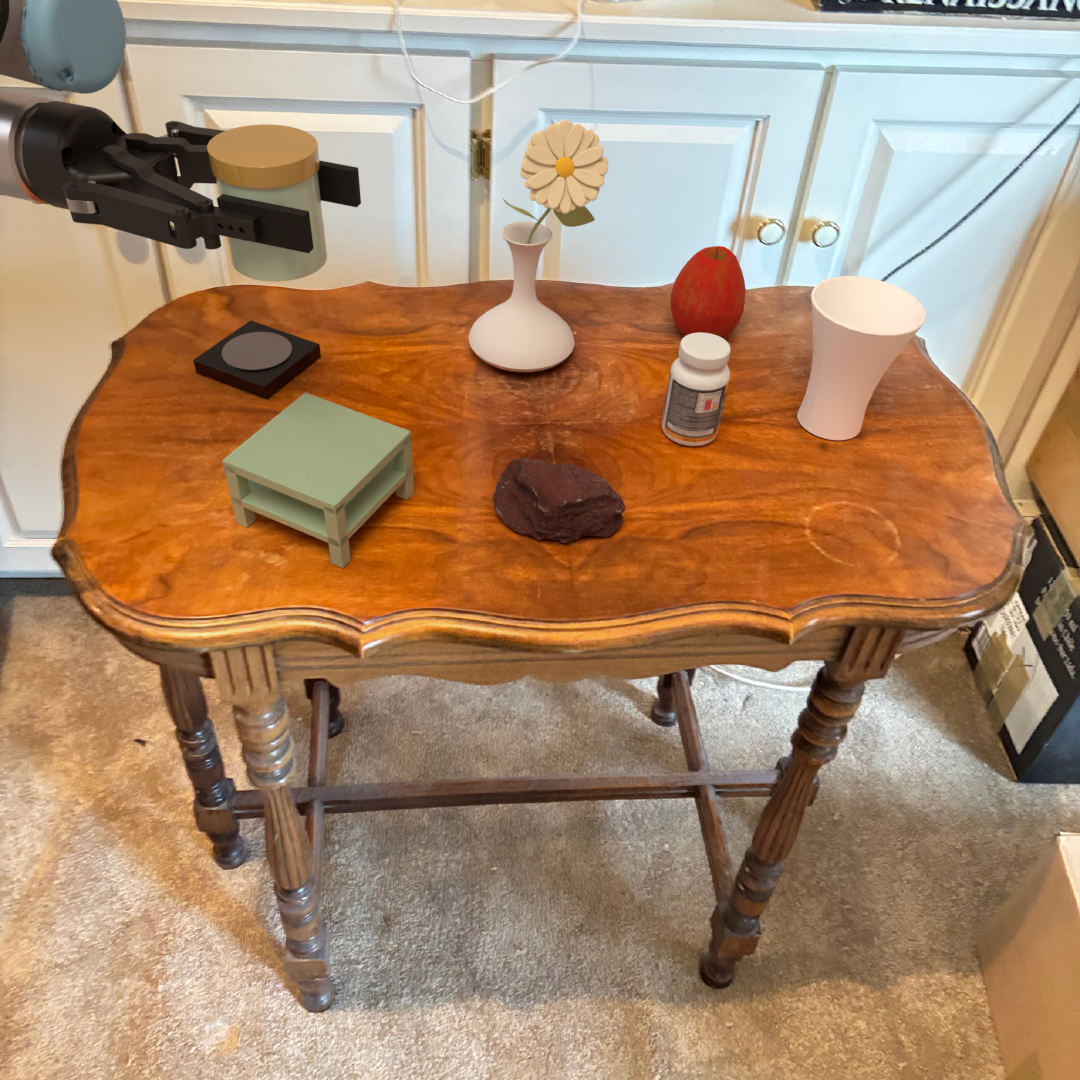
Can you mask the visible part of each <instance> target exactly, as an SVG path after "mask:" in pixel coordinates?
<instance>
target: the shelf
mask: <svg viewBox="0 0 1080 1080" xmlns="http://www.w3.org/2000/svg"><path fill="white" fill-rule="evenodd" d="M412 441H413V440H412V431H411V430H409V429H406V428H404V427H400V426H398V425H395V424H393V423H390V422H387V421H384V420H381V419H379V418H376V417H374V416H371V415H368V414H366V413H363V412H360V411H357V410H355V409H352V408H349V407H347V406H344V405H342V404H339V403H335V402H332V401H330V400H328V399H326V398H325V399H324V398H322V397H320V396H316V395H314V394H311V393H308V392H303V393H302V394H301V395H300V396H298V398H297V399H295V400H293V402H291V403H290V404H289V405H288V406H286V407H285V408H284V409H283V410H282V411H280V412H279V413H278V414H277V415H275V416H274V417H273V418H272V419H270V420H269V421H268V422H266V424H264V425H263V426H262V427H261V428H259V429H258V430H257V431H256V432H255V433H253V434H252V435H251V436H249V437H248V439H246V440H245V441H244V442H242V443H241V444H240V445H238V446H237V447H236V448H235V449H234V450H233V451H232V452H230V453H228V455H226V456H225V457H224V458H223V459H222V460H221V462H222V468H223V472H224V475H225V480H226V483H227V488H228V492H229V498H230V501H231V505H232V509H233V514H234V518H235V523H236V524H237V525H240V526H242V527H244V528H247V529H248V528H250V526H251V525H252V524H253V523H255V522H256V521H257V516H256V514H259V515H261V516H263V517H266V518H267V519H271V520H273V521H275V522H277V523H280V524H283V525H284V526H287V527H289V528H291V529H294V530H297V531H299V532H301V533H303V534H305V535H308V536H311V537H313V538H316V539H318V540H320V541H323V542H325V543H327V544H328V551H329V556H330V563H331V564H332V565H334V566H336V567H338V568H341V569H344V568H345V567H346V566H347V565H348V564H349V563H350V561H351V560H352V558H351V550H350V542H349V539H350V538H351V537H352V536H353V535H354V534H355V533H356V532H357V531H358V530H359V529H360V528H361V527H362V526H363V525H364V524H365V523H366V522H367V521H368V520H369V519H370V518H371V517H372V516H373V515H374V514H375V513H376V511H378V509H379V508H380V507H381V506H382V505H384V503H385V502H386V501H387V500H388V499H389V498H390V497H391V495H393V494H394V493H395V496H396V497H398V498H401V499H403V500H406V501H408V500H409V499H410V498H411V497H412V496H413V495H414V493H415V481H414V467H413V466H414V464H413V463H414V460H413V445H412V444H413V442H412Z"/></svg>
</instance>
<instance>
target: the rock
mask: <svg viewBox="0 0 1080 1080" xmlns="http://www.w3.org/2000/svg"><path fill="white" fill-rule="evenodd" d="M492 501H493V502H492V503H493V505H494V510H495V512H496V514H497V516H498V517H499V519H500V520H502V522H503V523H504V525H506V526H507V527H509V528H510V529H511V530H513V531H514V532H517V533H518V534H520V535H523V536H529V537H533V538H534V539H536V540H539V541H545V540H551V541H559V542H561V543H564V544H565V543H566V544H570V543H572V542H573V541H576V540H579V539H580V538H582V537H587V536H589V537H590V536H591V537H600V538H609V537H610V536H612V535H613V534H614V533H615V532H617V531H618V530H619V529H620V527H622V525H623V524H624V516H623V513H625V511H626V504H625V503H624V500H623V498H622V496H621V495H620V494H619V493H618V492H616V491H615V490H614V489H613V488H612V486H611V485H610V483H609V481H608V480H606V479H605V478H603V477H601V476H600V475H598V474H595V473H593V472H591V470H589V469H586V468H582V467H580V466H579V467H578V466H577V465H574V464H569V463H566V462H558V463H555V464H553V463H549V462H546V461H544V460H540V459H537V458H530V457H529V458H528V457H521V458H515V459H512V460H511V461H510V462H508V463H507V465H506V466H505V468H504V470H503V471H502V473H501V475H500V477H499V478H498V480H497V483H496V485H495V490H494V493H493V495H492Z"/></svg>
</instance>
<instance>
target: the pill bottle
mask: <svg viewBox="0 0 1080 1080" xmlns="http://www.w3.org/2000/svg"><path fill="white" fill-rule="evenodd" d="M731 351H732V349H731V345H730V343H729V342H728V341H727V340H726V339H725V338H724V339H723V338H721V337H719V336H717V335H714V334H710V333H692V334H689V335H687V336H684V337H682V338H681V340H680V343H679V347H678V353H677V354H678V357H677V358H676V359H675V360H674V361H673V363H672V364H671V366H670V370H669V376H668V383H667V389H666V394H665V399H664V404H663V405H664V406H663V411H662V418H661V429H662V431H663V434H664V435H665V436H666V437H667V438H668V439H669V440H671V441H672V442H674V443H676V444H677V445H678V444H679V445H682V446H685V447H702V446H706V445H708V444H710V443H712V442H713V441H714V440H715V439H716V438H717V436H718V433H719V430H720V426H721V421H722V417H723V412H724V407H725V402H726V399H727V393H728V388H729V384H730V380H731V370H730V368H729V366H728V363H729V360H730V357H731Z"/></svg>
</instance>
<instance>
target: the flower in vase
mask: <svg viewBox="0 0 1080 1080" xmlns="http://www.w3.org/2000/svg"><path fill="white" fill-rule="evenodd" d="M599 143H600V136H599V135H598V134H597V133H595V132H594V130H592V129H587V128H586V127H584V126H583V125H582V124H581V123H575V124H574V123H573V122H571V121H569V120H568V119H564V118H563V119H561V120H560V121H559V122H556V123H553V124H549V125H547V126H546V129H540V130H539V131H538V132H534V133H532V134H531V136H530V140H529V141H528V143H527V148H526V149H525V152H524V153H523V157H522V158H523V160H522V161H521V163H520V167H521V168H520V170H519V176H520V177H521V178H522V179H524V182H523V186H524V188H526V189H527V190H530V191H529V194H528V195H529V199H530V200H531V201H533V202H536V204H538V205H542V206H543V207H544V208H545V209H546V210H545V211H544V212H543V213H542V215H541V216H540V217H539V218H538V219H537V218H536V217H535V216H534V215H533V214H531V212H529V211H527V210H525V209H523V208H520V207H517V206H515V205H512V204H511V203H509V202H508V201H506V199H505V198H503V197H502V200H503V202H504V204H506V205H507V206H509V207H510V208H511V209H513V210H515V211H516V212H518V213H519V214H520V213H521V214H522V215H525V216H527V217H529V218H532V219H533V220H536V222H533V221H514V222H511V223H508V224H506V225H505V226H503V228H501V237H502V238H503V239H504V240H505V241H506V243H507V245H508V247H509V249H510V254H511V258H512V265H513V287H512V291H511V295H510V297H509V298H508V299H507V300H505V301H504V302H502V303H499V304H498V305H495V306H494V307H492V308H490V309H488V310H487V311H485V312H484V313H483V314H482V315H480V316H479V317H478V318H477V319H476V320H475V321H474V323H473V324H472V327H471V328H470V330H469V333H468V343H469V346H470V347H471V349H472V351H473V352H474V353H475V355H476V356H477V357H478V358H479V359H481V361H483V362H484V363H486V364H488V365H489V366H492V367H494V368H497V369H500V370H503V371H508V372H515V373H533V372H534V373H535V372H541V371H545V370H549V369H552V368H555V367H556V366H558V365H560V364H562V363H563V362H564V361H565V360H566V359H567V358H568V357H570V355H571V353H572V352H573V351H574V349H575V343H576V341H575V337H574V334H573V331H572V328H571V327H570V325H569V324H568V323H567V322H566V321H565V320H564V319H563V318H562V317H561V316H560V314H557V312H555V311H554V310H552V309H551V308H549V307H547V306H546V305H544V304H543V303H541V302H540V301H539V299H538V296H537V292H536V277H537V271H538V264H539V261H540V257H541V254H542V252H543V250H544V248H545V247H546V245H547V244H548V243H549V242H550V241H551V239H552V237H553V232H552V230H551V228H549V227H547V226H546V225H544V224H542V222H543V221H544V219H545V218H546V217H547V216H548V215H549V213H550V212H551V210H553V213H554V215H555V216H556V218H557V219H558V221H559V222H560V223H561V224H562V225H563V226H565V227H569V228H573V227H574V228H575V227H579V226H585V225H587V224H590V223H592V222H594V221H596V219H595V217H594V215H593V214H592V212H591V211H590V210H589V209H588V208H587V207H586V205H587V204H589V203H591V202H593V201H596V200H597V199H598V198H599V193H600V190H601V189H600V188H601V187H603V186H604V184H605V178H606V177H605V175H606V174H607V173H608V171H609V159H608V158H607V157H605V156H604V152H605V151H604V150H605V149H604V147H603V146H602V145H601V144H599Z"/></svg>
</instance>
